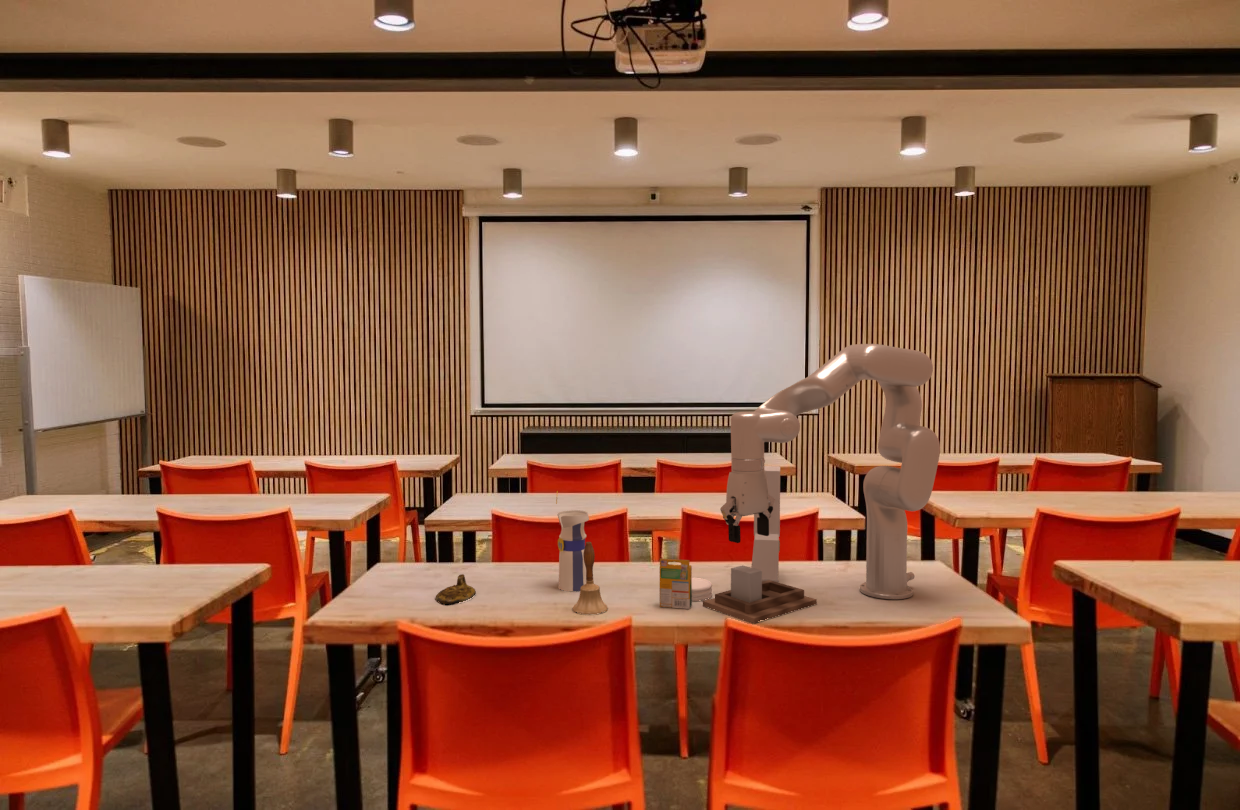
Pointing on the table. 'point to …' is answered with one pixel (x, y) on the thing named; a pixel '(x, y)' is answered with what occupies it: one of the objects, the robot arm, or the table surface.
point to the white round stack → (701, 589)
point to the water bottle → (572, 550)
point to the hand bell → (589, 588)
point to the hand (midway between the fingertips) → (749, 538)
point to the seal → (456, 592)
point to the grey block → (746, 583)
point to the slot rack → (762, 602)
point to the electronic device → (769, 545)
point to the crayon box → (675, 584)
